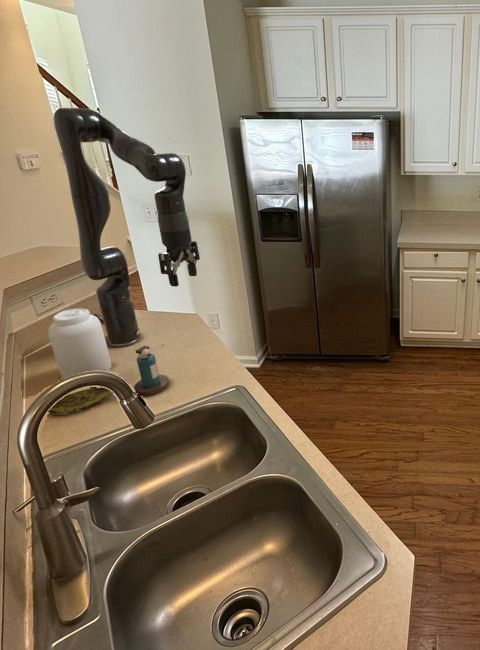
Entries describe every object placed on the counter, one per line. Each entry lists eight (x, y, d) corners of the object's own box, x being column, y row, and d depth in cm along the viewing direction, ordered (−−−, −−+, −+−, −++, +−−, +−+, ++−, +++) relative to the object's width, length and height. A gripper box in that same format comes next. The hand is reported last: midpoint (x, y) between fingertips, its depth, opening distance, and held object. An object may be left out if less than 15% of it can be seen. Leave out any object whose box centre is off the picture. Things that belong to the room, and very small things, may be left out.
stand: (131, 387, 124) (130, 382, 124) (162, 375, 130) (162, 371, 130) (141, 400, 119) (140, 395, 118) (173, 387, 125) (172, 383, 124)
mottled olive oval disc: (49, 425, 110) (117, 401, 119) (44, 412, 108) (113, 388, 117) (45, 405, 116) (110, 383, 125) (40, 391, 114) (106, 371, 123)
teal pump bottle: (139, 385, 123) (130, 351, 119) (152, 377, 127) (144, 343, 123) (151, 388, 121) (142, 354, 117) (164, 380, 125) (156, 346, 121)
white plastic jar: (106, 357, 139) (91, 300, 132) (117, 372, 131) (101, 313, 124) (59, 371, 131) (40, 312, 124) (66, 389, 123) (46, 327, 116)
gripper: (178, 220, 128) (187, 271, 134) (144, 232, 115) (156, 288, 121) (201, 222, 127) (209, 273, 133) (169, 234, 114) (180, 290, 120)
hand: (184, 280), depth 127 cm, fingers open, 8 cm apart
